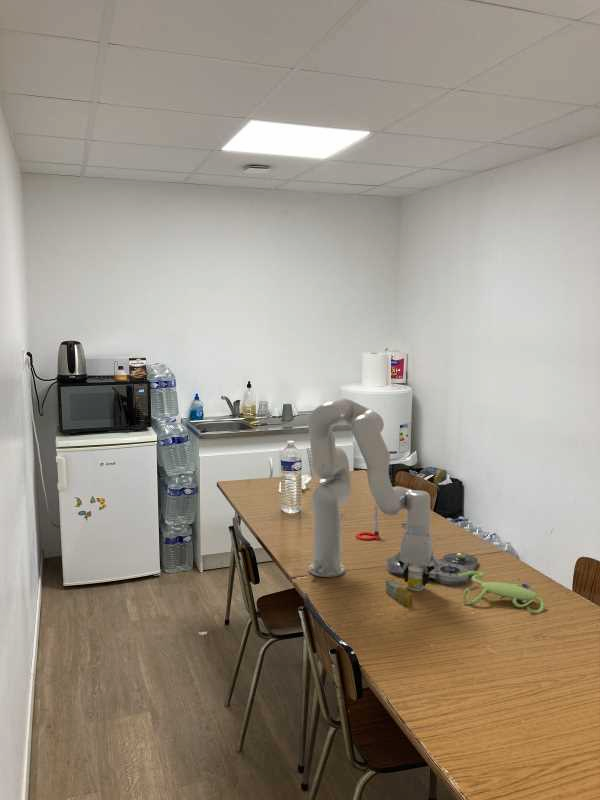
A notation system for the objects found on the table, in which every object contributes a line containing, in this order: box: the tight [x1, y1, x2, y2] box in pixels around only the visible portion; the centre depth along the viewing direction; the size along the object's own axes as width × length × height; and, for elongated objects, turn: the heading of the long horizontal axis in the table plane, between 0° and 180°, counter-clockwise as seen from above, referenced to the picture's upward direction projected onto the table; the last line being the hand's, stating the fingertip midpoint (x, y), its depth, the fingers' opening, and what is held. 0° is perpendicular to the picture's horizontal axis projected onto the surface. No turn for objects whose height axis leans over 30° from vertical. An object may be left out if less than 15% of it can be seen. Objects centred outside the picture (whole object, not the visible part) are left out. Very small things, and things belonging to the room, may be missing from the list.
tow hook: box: [355, 505, 380, 541], centre depth 267 cm, size 8×13×9 cm
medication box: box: [385, 579, 413, 607], centre depth 210 cm, size 12×3×4 cm, turn 23°
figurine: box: [457, 570, 545, 614], centre depth 211 cm, size 18×27×6 cm
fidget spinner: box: [431, 551, 479, 586], centre depth 233 cm, size 12×28×4 cm, turn 154°
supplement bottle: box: [407, 564, 425, 592], centre depth 218 cm, size 5×5×10 cm
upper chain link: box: [386, 556, 469, 581], centre depth 230 cm, size 12×28×5 cm, turn 64°
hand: (416, 581), depth 218 cm, fingers closed on supplement bottle, 5 cm apart
